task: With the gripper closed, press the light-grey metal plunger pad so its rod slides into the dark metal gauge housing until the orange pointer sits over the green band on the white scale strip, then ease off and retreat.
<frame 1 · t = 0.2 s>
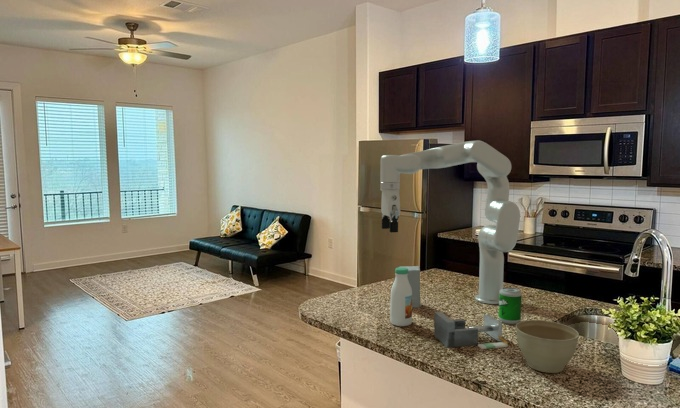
hand: (389, 230, 180), 31 cm above the countertop, fingers open, 9 cm apart
milk bottle: (401, 323, 165), on the countertop
plunger: (484, 330, 149), point 3 cm above the countertop, slide at 0.0 cm
skincare box: (409, 306, 185), on the countertop
soda can: (509, 322, 166), on the countertop
gauge housing: (467, 339, 150), on the countertop
scale strip: (492, 345, 144), on the countertop
planter bowl: (545, 366, 130), on the countertop
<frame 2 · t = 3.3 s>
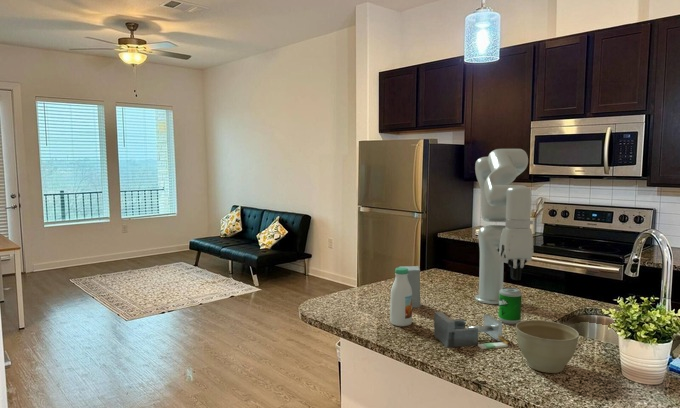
hand: (515, 279, 152), 19 cm above the countertop, fingers closed
nothing on the countertop moved.
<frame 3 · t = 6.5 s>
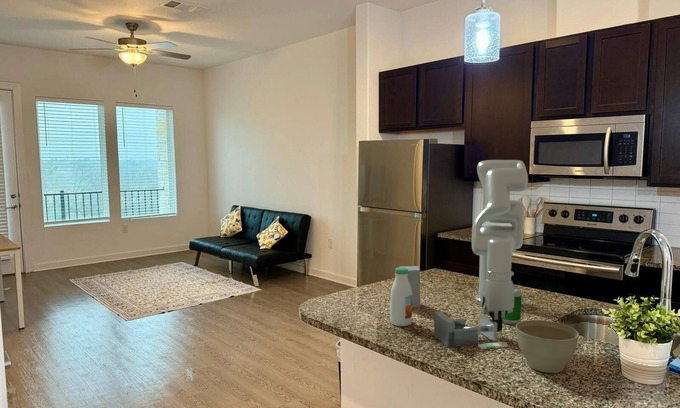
hand: (496, 330, 152), 2 cm above the countertop, fingers closed
plunger: (480, 330, 148), point 3 cm above the countertop, slide at 1.7 cm, touching gripper
everything else where it was.
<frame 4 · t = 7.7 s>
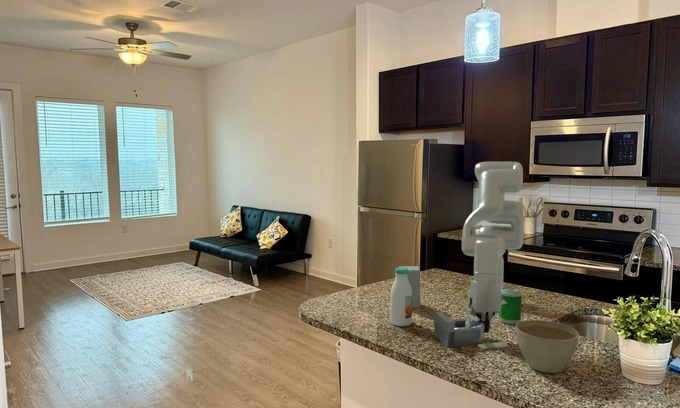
hand: (484, 331, 151), 2 cm above the countertop, fingers closed
plunger: (467, 331, 147), point 3 cm above the countertop, slide at 6.3 cm, touching gripper
everything else where it was.
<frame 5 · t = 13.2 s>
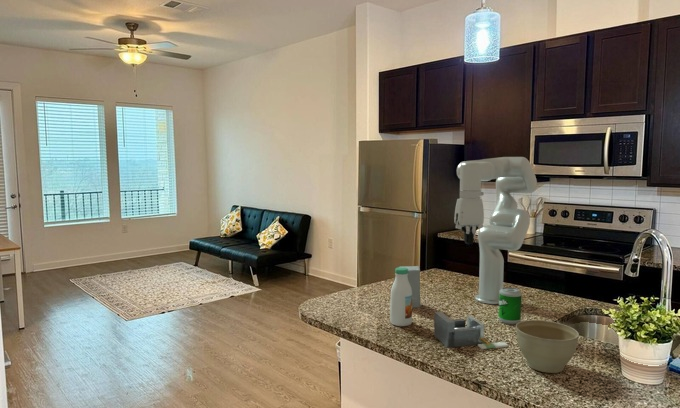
hand: (468, 243, 172), 27 cm above the countertop, fingers closed
plunger: (466, 331, 147), point 3 cm above the countertop, slide at 6.3 cm
everything else where it was.
at the end: plunger slide at 6.3 cm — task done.
